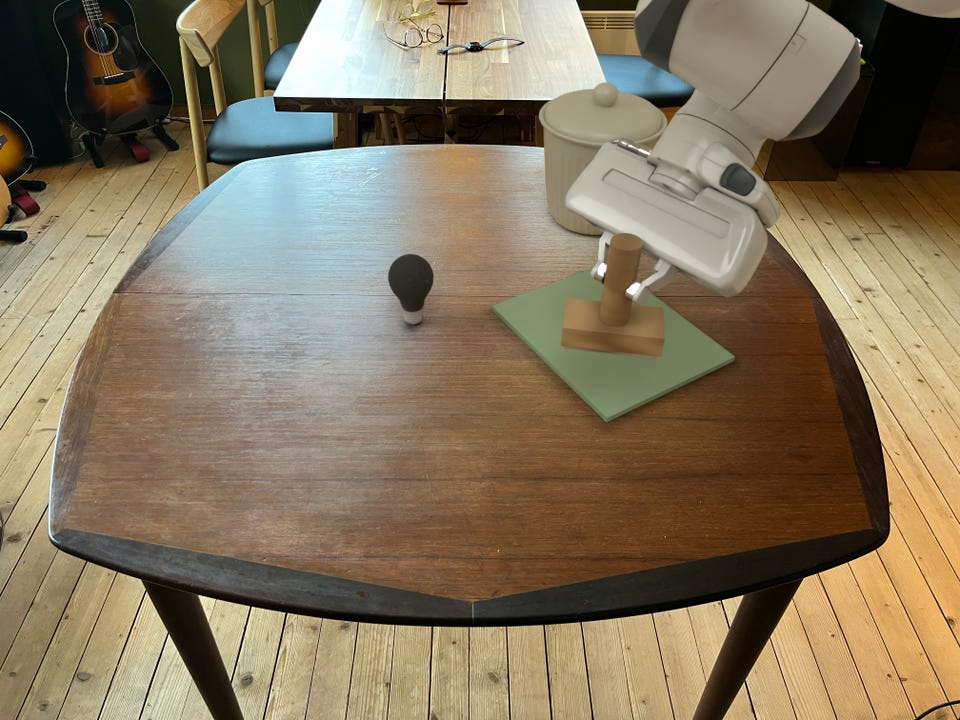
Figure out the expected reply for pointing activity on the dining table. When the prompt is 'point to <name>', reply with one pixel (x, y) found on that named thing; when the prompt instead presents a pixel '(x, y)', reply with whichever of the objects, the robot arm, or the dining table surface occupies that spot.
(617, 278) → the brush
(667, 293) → the dining table surface
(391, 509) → the dining table surface
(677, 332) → the mat
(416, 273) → the light bulb
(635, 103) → the canister
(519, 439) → the dining table surface
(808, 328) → the dining table surface
